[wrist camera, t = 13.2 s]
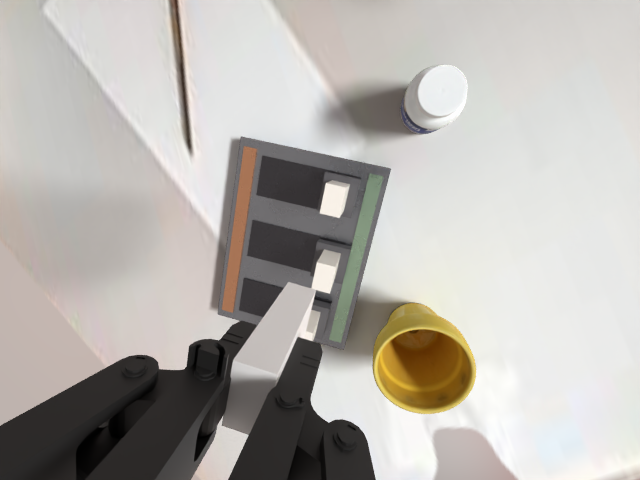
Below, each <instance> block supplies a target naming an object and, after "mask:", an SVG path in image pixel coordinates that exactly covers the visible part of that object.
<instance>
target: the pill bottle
mask: <svg viewBox="0 0 640 480" xmlns="http://www.w3.org/2000/svg"><path fill="white" fill-rule="evenodd" d="M466 98H467V81H466V78H465V76H464V74H463V73H462V71H460V70H459V69H458V68H456V67H454V66H452V65H437V66H432V67H429V68H426V69H424V70H423V71H421V72H420V73H418V74H417V75H416V76H415V77H414V79H413V80H412V81H411V83H410V84H409V86H408V88H407V90H406V92H405V95H404V97H403V99H402V102H401V106H400V116H401V120H402V122H403V124H404V125H405V126H406V127H407V128H408V129H409V130H410V131H412V132H414V133H417V134H428V133H431V132H434V131H436V130H438V129H440V128H442V127H444V126H446V125H448V124H450V123H451V122H452V121H454V120H455V119H456V118H457V117H458V116H459V114H460V113H461V111H462V110H463V108H464V105H465V103H466Z"/></svg>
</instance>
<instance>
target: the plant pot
mask: <svg viewBox="0 0 640 480" xmlns="http://www.w3.org/2000/svg"><path fill="white" fill-rule="evenodd" d="M411 330H415V331H411ZM373 374H374V378H375V381H376V384H377V386H378V387H379V389H380V391H381V392H382V393H383V394H384V396H385V397H386V398H387V399H388V400H390V401H391V402H392V403H393V404H395V405H397V406H398V407H400V408H402V409H405V410H407V411H411V412H414V413H421V414H433V413H439V412H444V411H447V410H449V409H451V408H453V407H455V406H457V405H458V404H460V403H461V402H462V401H463V400H464V399H465V398H466V397H467V396H468V395H469V393H470V391H471V390H472V388H473V385H474V382H475V377H476V365H475V360H474V357H473V354H472V352H471V350H470V348H469V346H468V344H467V342H466V340H465V339H464V337H463V336H462V334H461V333H460V331H459V330H458V329H457V328H456V327H455V326H454V325H453V324H452V323H450V322H449V321H447V320H446V319H444V318H442V317H439V316H438V315H437V314H436V313H435V312H434V311H433V310H431V309H430V308H429V307H427V306H425V305H422V304H418V303H408V304H404V305H402V306H400V307H398V308H397V309H395V310H394V311H393V312H392V314H391V315H390V317H389V320H388V322H387V325H386V326H385V327H384V328H383V329H382V330H381V331H380V333H379V334H378V336H377V338H376V341H375V345H374V351H373Z"/></svg>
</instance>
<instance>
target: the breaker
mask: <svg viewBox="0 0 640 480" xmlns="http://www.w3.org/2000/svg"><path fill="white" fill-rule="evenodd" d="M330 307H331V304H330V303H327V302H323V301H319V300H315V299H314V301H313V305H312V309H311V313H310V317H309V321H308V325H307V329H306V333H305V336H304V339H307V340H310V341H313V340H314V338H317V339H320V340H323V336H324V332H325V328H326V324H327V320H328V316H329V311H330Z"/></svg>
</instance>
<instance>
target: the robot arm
mask: <svg viewBox="0 0 640 480" xmlns="http://www.w3.org/2000/svg"><path fill="white" fill-rule="evenodd" d="M315 292H316V290H315V289H311V288H308V287H304V286H301V285H298V284H294V283H291V282H288V283H287V285H286V286H285V287H284V289H283V290H282V292H281V293H280V294H279V296H278V297H277V299H276V300H275V302H274V303H273V304H272V306H271V307H270V309H269V310H268V311H267V313H266V314H265V316H264V317H263V319H262V320H261V321H260V323H259V324H258V325H255V324H252V323H249V322H245V321H240V322H238V323H236V324H234V325H232V326H231V327H230V329H229V330H228V331H227V332H226V334H224V336H223V337H222V338H221V339H220V340H219V341H218V340H213V339H204V340H199V341H196V342H194V343H193V344H191V345H190V346H189V352H188V360H187V367H186V368H185V369H184V370H161V369H159V366H158V362H157V361H156V360H155V359H154V358H152V357H150V356H147V355H134V356H129V357H126V358H124V359H121V360H119V361H118V362H116V363H114V364H112V365H110V366H108V367H107V368H105V369H103V370H101V371H99V372H98V373H96V374H94V375H92V376H90V377H88V378H87V379H85V380H83V381H81V382H79V383H77V384H76V385H74V386H72V387H70V388H68V389H67V390H65V391H63V392H61V393H59V394H57V395H56V396H54V397H52V398H50V399H48V400H46V401H45V402H43V403H41V404H40V405H37V406H36V407H34V408H32V409H30V410H28V411H26V412H25V413H23V414H21V415H19V416H17V417H15V418H14V419H12V420H10V421H8V422H6V423H4V424H3V425H1V426H0V480H191V478H192V477H193V475H194V473H195V471H196V470H197V468H198V466H199V464H200V463H201V461H202V459H203V457H204V456H205V454H206V452H207V450H208V449H209V447H210V445H211V443H212V442H213V440H214V437H215V434H216V429H217V425H218V423H219V421H220V420H221V418H222V416H223V421H222V426H225V427H228V428H231V429H234V430H237V431H240V432H242V433H245V434H248V435H249V436H248V438H247V440H246V442H245V445H244V447H243V449H242V451H241V453H240V455H239V458H238V460H237V462H236V464H235V466H234V468H233V471H232V473H231V475H230V477H229V479H228V480H376V479H375V475H374V470H373V465H372V461H371V456H370V452H369V447H368V443H367V440H366V437H365V435H364V433H363V432H362V431H361V430H360V428H359V427H358V426H356V425H355V424H353V423H352V422H349V421H346V420H334V421H332V422H330V423H328V422H327V421H325V420H324V419H322V418H321V417H320V416H319V415H317V413H316V412H315V411H314V409H313V407H312V405H311V401H310V398H311V393H312V390H313V386H314V382H315V379H316V375H317V371H318V368H319V364H320V360H321V357H322V353H323V352H322V349H321V345H320V343H316V342H313V341H310V340H307V339H304V336H305V333H306V329H307V325H308V321H309V317H310V313H311V309H312V305H313V301H314V297H315Z"/></svg>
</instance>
